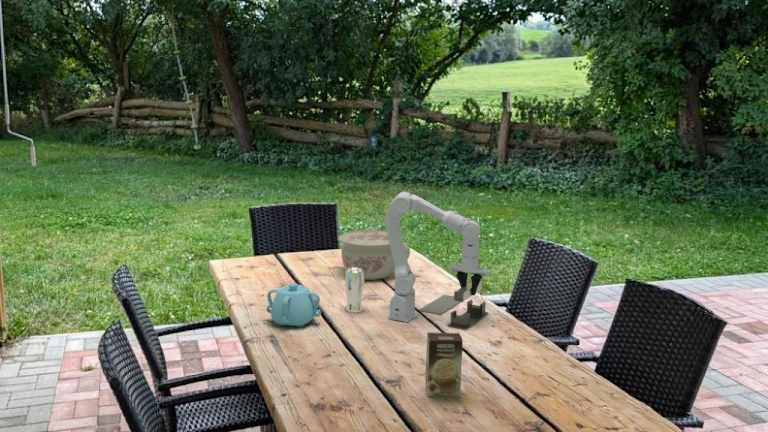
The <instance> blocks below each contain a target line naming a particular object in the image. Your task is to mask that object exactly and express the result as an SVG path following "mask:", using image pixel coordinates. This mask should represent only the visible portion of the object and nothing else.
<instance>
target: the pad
mask: <svg viewBox="0 0 768 432" xmlns="http://www.w3.org/2000/svg"><path fill="white" fill-rule="evenodd" d="M461 303H462V302H459V301H454V295H448V294H443V295H441V296H440V297H437V299H434V300H433V301H432V302H430V303H428V304H426V305H424V306H423V307H421V308H420V309H418V312H421V313H426V314H427V313H428V314H432V315H440V316H442V315H444V314H445V313H446V312H448V311H449V310H451V309H453V308H454V307H456V306H457V305H459V304H461Z"/></svg>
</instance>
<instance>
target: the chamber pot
mask: <svg viewBox="0 0 768 432" xmlns="http://www.w3.org/2000/svg"><path fill="white" fill-rule="evenodd" d="M337 237H338V238H337V240H338V241H339V242H341V244H343V245H342V247H341V253H340V254H341V255H340V256H341V261H342V264H343V266H344V268H345V270H346V269H348V268H361V269H363V270H364V281H379V280H383V279H385V278H389V277H390V276H391V275H392V274H393V273H395V266H394V262H393V257H392V253H391V248H390V244H389V239H388V235H387V230H379V229H377V230H376V229H375V228H372V227H368V228H367V227H366V228H365V229H364V230H354V231H348V232H345V233H342V234H339V236H337ZM402 238H403V239H404V237H403V236H402ZM403 242H404V247H405V251H406V256H407V260H408V259H409V258H410V254H411V252H410V246H409V245H408V244H407V243H406V242H405V241H403Z"/></svg>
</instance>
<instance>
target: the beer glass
mask: <svg viewBox="0 0 768 432" xmlns="http://www.w3.org/2000/svg"><path fill="white" fill-rule="evenodd" d="M344 275H345V276H344V288H345V294H346V298H347V299H346V306H345V307H346V308H345V310H346V311H347V312H348V313H354V314H355V313H360V312H362V311H363V310H364V307H363V302H362V301H363V294H364V287H365V280H364V270H363V269H361V268H348V269H346V268H345V271H344Z"/></svg>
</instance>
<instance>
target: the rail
mask: <svg viewBox="0 0 768 432" xmlns="http://www.w3.org/2000/svg"><path fill="white" fill-rule="evenodd" d="M482 290H484V280H482V279H481V280H480V282H479V285H478V287H477V291H476V294H477V293H479V292H480V291H482ZM453 293H454V295H453V296H454V301H459V302H461V303H463V302H465V301H467V300H468V299H469V298H470V297H472V296H473V295H472V282H471V281H470V282H469V283H467V285H465V286H464V287H462V288H461V287H460V288H459V289H457V290H455V291H454V292H453Z"/></svg>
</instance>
